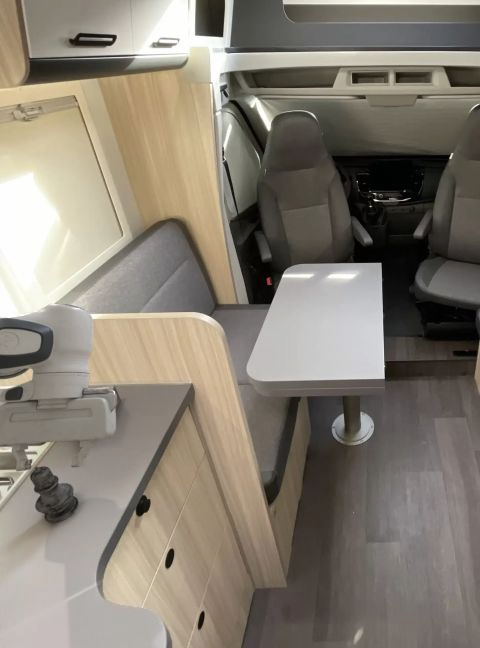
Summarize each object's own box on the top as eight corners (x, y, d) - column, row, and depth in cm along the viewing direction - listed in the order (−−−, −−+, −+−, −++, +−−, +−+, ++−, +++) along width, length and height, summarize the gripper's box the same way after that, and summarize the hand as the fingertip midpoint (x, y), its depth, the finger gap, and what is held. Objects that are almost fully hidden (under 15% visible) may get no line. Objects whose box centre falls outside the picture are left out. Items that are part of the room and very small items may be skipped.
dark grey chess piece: (81, 513, 81) (56, 470, 75) (43, 530, 78) (14, 488, 72) (79, 489, 86) (55, 447, 79) (42, 505, 83) (15, 463, 77)
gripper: (126, 387, 87) (119, 462, 83) (16, 393, 85) (5, 469, 82) (108, 386, 81) (100, 467, 77) (-10, 392, 79) (-23, 475, 76)
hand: (51, 468), depth 80 cm, fingers open, 8 cm apart
